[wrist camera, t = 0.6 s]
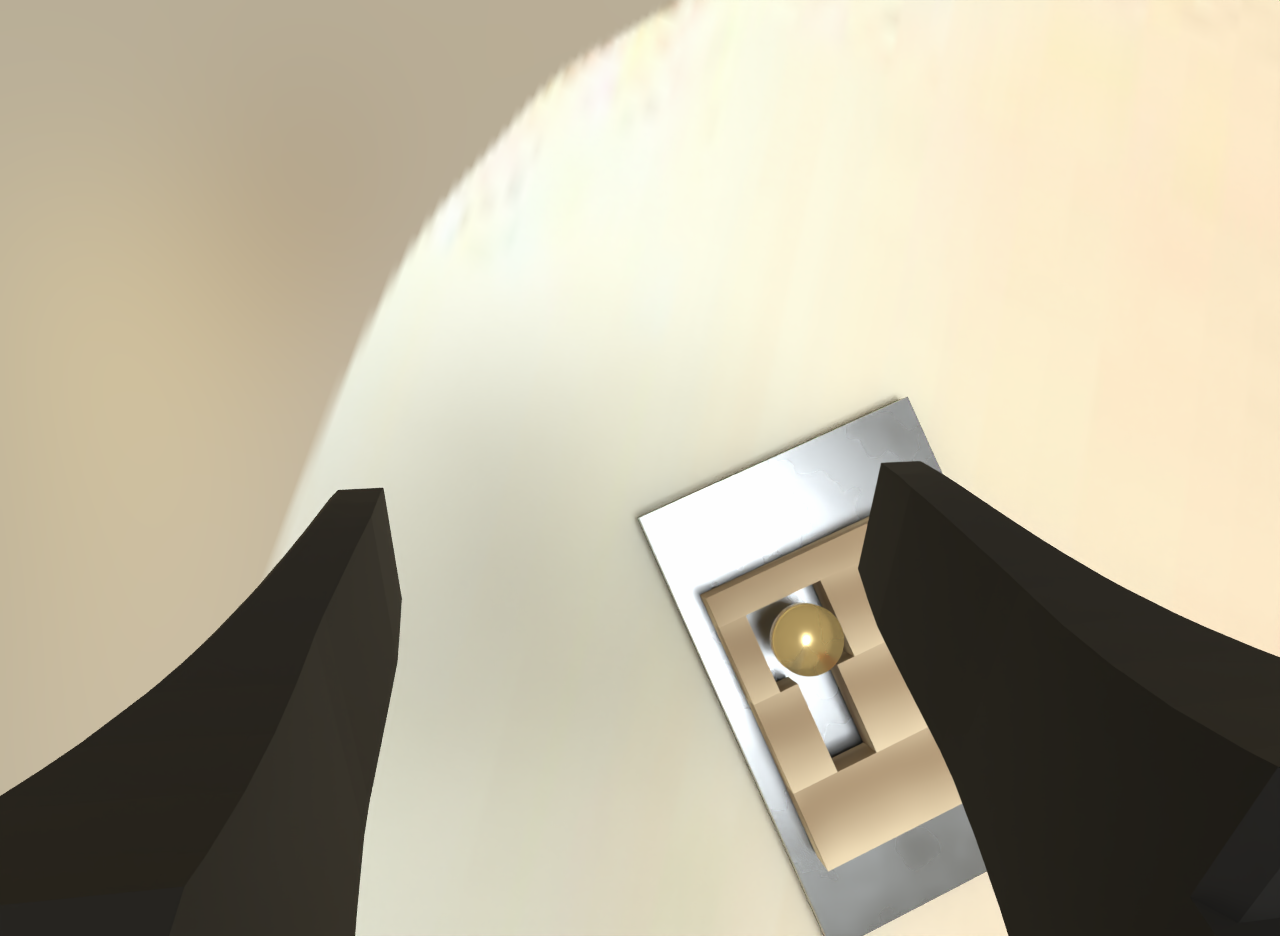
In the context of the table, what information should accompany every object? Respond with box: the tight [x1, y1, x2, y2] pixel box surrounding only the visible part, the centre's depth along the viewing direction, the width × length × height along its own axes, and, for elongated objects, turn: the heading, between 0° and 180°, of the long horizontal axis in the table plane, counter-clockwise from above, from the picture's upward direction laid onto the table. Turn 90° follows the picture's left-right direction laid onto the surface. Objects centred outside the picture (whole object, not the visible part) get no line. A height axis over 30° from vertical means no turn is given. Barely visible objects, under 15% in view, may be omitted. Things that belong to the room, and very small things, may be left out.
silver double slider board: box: [637, 397, 987, 936], centre depth 37 cm, size 20×13×4 cm, turn 24°
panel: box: [700, 517, 962, 871], centre depth 37 cm, size 12×11×2 cm
